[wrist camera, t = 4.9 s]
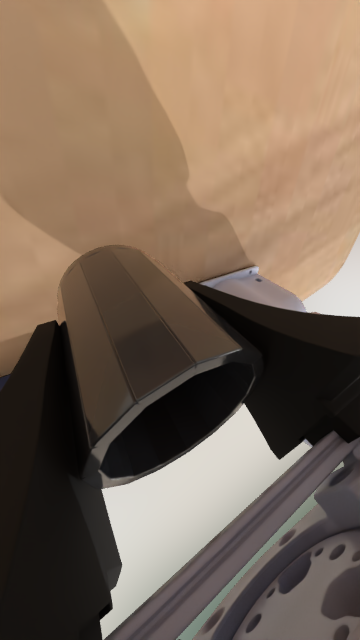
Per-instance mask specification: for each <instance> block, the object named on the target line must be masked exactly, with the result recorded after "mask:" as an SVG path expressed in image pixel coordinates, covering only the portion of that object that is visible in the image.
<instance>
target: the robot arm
mask: <svg viewBox="0 0 360 640" xmlns="http://www.w3.org/2000/svg"><path fill="white" fill-rule="evenodd" d="M258 270H259V268H258V267H257V266H253V267H249V268H246V269H243V270H240V271H237V272H233V273H230V274H227V275H224V276H220V277H217V278H214V279H211V280H208V281H204V282H201V283H196V282H193V281H189V282H185V283H184V284H185V285H186V286H187V287H188V288H189V289H190V290H191V291H193V292H194V293H195V294H196V295H197V296H198V297H199V298H200V299H202V300H203V301H204V302H205V303H206V304H207V305H208V306H209V307H211V308H212V309H213V310H214V311H215V312H216V313H217V314H218V315H220V316H221V317H222V318H223V319H224V320H225V321H226V322H227V323H228V324H230V325H231V326H232V327H233V328H234V329H235V330H236V331H237V332H239V333H240V334H241V335H242V336H243V337H244V338H245V339H246V340H248V341H249V342H250V343H251V344H252V345H253V346H254V347H255V348H257V349H258V350H259V351H260V352H261V353H262V355H263V362H264V372H263V374H262V376H261V378H260V380H259V382H258V384H257V386H256V388H255V390H254V391H253V393H252V394H251V395H250V396H249V398H248V399H247V400H246V401H245V402H244V404H245V405H246V407H247V408H248V410H249V412H250V413H251V415H252V416H253V418H254V420H255V421H256V424H257V425H258V427H259V429H260V431H261V432H262V434H263V436H264V438H265V439H266V441H267V443H268V445H269V447H270V449H271V450H272V451H273V453H274V454H275V455H276V457H277V458H278V459H279V460H280V459H281V458H282V457H284V456H285V455H286V454H288V453H289V452H290V451H291V450H293V449H294V448H295V447H297V446H298V445H299V444H300V443H302V442H305V443H306V444H307V445H309V446H311V447H312V448H311V449H310V450H308V451H307V452H306V453H305V454H304V455H303V456H302V457H301V458H300V459H299V460H298V461H297V462H296V463H294V465H292V466H291V467H290V468H289V469H288V470H287V471H286V472H285V473H284V474H283V475H281V476H280V477H279V478H278V479H277V480H276V481H275V482H274V483H273V484H272V485H271V486H270V487H268V488H267V489H266V490H265V491H264V492H263V493H262V494H261V495H260V496H259V497H258V498H257V499H255V500H254V501H253V502H252V503H251V504H250V505H249V506H248V507H247V508H246V509H245V510H244V511H243V512H241V513H240V514H239V515H238V516H237V517H236V518H235V519H234V520H233V521H232V522H231V523H230V524H229V525H227V526H226V527H225V528H224V529H223V530H222V531H221V532H220V533H219V534H218V535H217V536H215V537H214V538H213V539H212V540H211V541H210V542H209V543H208V544H207V545H206V546H205V547H204V548H203V549H201V550H200V551H199V552H198V553H197V554H196V555H195V556H194V557H193V558H192V559H191V560H190V561H189V562H188V563H186V564H185V565H184V566H183V567H182V568H181V569H180V570H179V571H178V572H177V573H175V574H174V575H173V576H172V577H171V578H170V579H169V580H168V581H167V582H166V583H165V584H164V585H163V586H162V587H161V588H159V589H158V590H157V591H156V592H155V593H154V594H153V595H152V596H151V597H150V598H149V599H147V600H146V601H145V602H144V603H143V604H142V605H141V606H140V607H139V608H138V609H137V610H135V611H134V613H132V614H131V615H130V616H129V617H128V618H127V619H126V620H125V621H124V622H122V623H121V625H119V626H118V627H117V628H116V629H115V630H114V631H113V632H112V633H111V634H110V635H108V636H107V637H106V638H105V639H104V640H176V638H177V637H178V636H179V635H180V634H181V633H182V632H183V631H184V630H185V629H186V628H187V627H188V626H189V625H190V624H191V623H192V621H193V620H194V619H195V618H196V617H197V616H198V615H199V614H200V613H201V612H202V610H204V609H205V607H206V606H207V605H208V604H209V603H210V602H211V601H212V600H213V599H214V598H215V597H216V595H218V593H219V592H220V591H221V590H222V589H223V588H224V587H225V586H226V585H227V584H228V583H229V582H230V581H231V580H232V579H233V577H234V576H235V575H236V574H237V573H238V572H239V571H240V570H241V569H242V568H243V567H244V566H245V565H246V564H247V563H248V561H249V560H250V559H251V558H252V557H253V556H254V555H255V554H256V553H257V552H258V551H259V549H260V548H261V547H263V545H264V544H265V543H266V542H267V541H268V540H269V539H270V538H271V537H272V536H273V535H274V534H275V533H276V532H277V530H278V529H279V528H280V527H281V526H282V525H283V524H284V523H285V522H286V521H287V520H288V518H289V517H291V515H292V514H293V513H294V512H295V511H296V510H297V509H298V508H299V507H300V506H301V505H302V504H303V503H304V502H305V500H306V499H307V498H308V497H309V496H310V495H311V494H312V493H313V492H314V491H315V490H316V489H317V490H316V492H315V494H314V499H315V500H316V501H317V503H318V504H317V505H316V506H315V507H314V508H313V509H312V510H311V511H310V512H309V513H307V514H306V515H305V516H304V517H303V518H302V519H301V520H300V521H299V522H298V523H297V524H295V525H294V526H293V527H292V528H291V529H290V530H289V531H288V532H287V533H286V534H285V535H284V536H283V537H282V538H280V539H279V540H278V541H277V542H276V543H275V544H274V545H273V546H272V547H271V548H270V549H269V550H268V551H267V552H266V553H265V554H264V555H263V556H262V557H261V558H260V559H259V560H258V561H257V562H256V563H255V564H254V565H253V566H252V567H251V568H250V569H249V570H248V571H247V572H246V573H245V575H244V576H243V577H242V578H241V579H240V580H239V581H238V583H237V584H236V585H235V586H234V587H233V588H232V590H231V591H230V592H229V593H228V595H227V596H226V597H225V598H224V599H223V601H222V602H221V603H220V604H219V606H218V607H217V608H216V610H215V611H214V612H213V613H212V615H211V616H210V617H209V619H208V620H207V621H206V622H205V624H204V625H203V626H202V627H201V629H200V630H199V631H198V633H197V634H196V635H195V637H194V638H193V639H192V640H360V317H348V316H347V317H346V316H334V315H324V314H320V313H317V312H312V313H307V312H306V309H305V307H304V305H303V303H302V301H301V300H300V299H299V298H298V297H297V296H296V295H295V294H293V293H291V292H290V291H288V290H286V289H284V288H282V287H281V286H279V285H277V284H275V283H273V282H271V281H270V280H268V279H266V278H264V277H262V276H261V275H259V274H257V273H258ZM342 461H343V463H344V467H342V468H340V469H338V470H336V471H335V472H333V470H334V469H335V468H336V467H337V466H338V465H339V464H340V463H341V462H342ZM331 472H333V473H331ZM121 568H122V562H121V559H120V556H119V552H118V549H117V545H116V542H115V538H114V535H113V531H112V527H111V524H110V520H109V517H108V513H107V509H106V505H105V501H104V498H103V494H102V490H101V489H95V488H93V487H91V486H90V485H88V484H86V483H85V482H83V481H81V480H80V478H79V472H78V464H77V457H76V449H75V442H74V434H73V427H72V419H71V412H70V404H69V397H68V389H67V382H66V374H65V366H64V359H63V351H62V344H61V336H60V329H59V325H58V323H57V321H56V320H54V321H51V322H47V323H44V324H40V325H38V326H37V327H36V329H35V331H34V333H33V335H32V337H31V338H30V340H29V342H28V344H27V346H26V348H25V350H24V352H23V354H22V356H21V357H20V359H19V361H18V363H17V364H16V366H15V368H14V370H13V372H12V373H11V375H10V377H9V378H8V380H7V381H6V383H5V385H4V386H3V388H2V389H1V391H0V640H102V633H101V626H100V620H101V619H102V618H103V617H104V616H105V615H106V614H107V613H109V612H110V611H111V610H112V609H113V607H112V599H111V593H110V591H111V590H112V589H113V588H114V587H115V586H116V584H117V581H118V578H119V575H120V572H121ZM178 640H180V639H178Z"/></svg>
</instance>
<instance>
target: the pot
mask: <svg viewBox="0 0 360 640" xmlns="http://www.w3.org/2000/svg"><path fill="white" fill-rule="evenodd" d="M57 301H58V305H57V314H58V321H59V329H60V336H61V344H62V351H63V359H64V366H65V374H66V382H67V389H68V397H69V404H70V412H71V419H72V427H73V434H74V442H75V449H76V457H77V464H78V472H79V478H80V480H81V481H83V482H85V483H86V484H88V485H90V486H91V487H93V488H95V489H103V488H109V487H114V486H120V485H125V484H128V483H131V482H133V481H135V480H138V479H140V478H142V477H144V476H147V475H149V474H151V473H154V472H156V471H157V470H160V469H161V468H163V467H165V466H166V465H168V464H169V463H171V462H173V461H175V460H176V459H178V458H180V457H181V456H183V455H184V454H186V453H187V452H189V451H191V450H192V449H193V448H194V447H196V446H197V445H199V444H200V443H201V442H202V441H204V440H205V439H206V438H208V437H209V436H211V435H212V434H213V433H214V432H215V431H217V430H218V429H219V428H220V427H221V426H222V425H223V424H224V423H225V422H226V421H227V420H228V419H229V418H231V417H232V416H233V415H234V414H235V413H236V412H237V411H238V410H239V408H240V407H241V406H242V405H243V403H244V402H245V401H246V400H247V399H248V398H249V396H250V395H251V394H252V393H253V391H254V390H255V388H256V386H257V384H258V382H259V380H260V378H261V376H262V374H263V372H264V362H263V355H262V353H261V352H260V351H259V350H258V349H257V348H255V347H254V346H253V345H252V344H251V343H250V342H249V341H248V340H246V339H245V338H244V337H243V336H242V335H241V334H240V333H239V332H237V331H236V330H235V329H234V328H233V327H232V326H231V325H230V324H228V323H227V322H226V321H225V320H224V319H223V318H222V317H221V316H220V315H218V314H217V313H216V312H215V311H214V310H213V309H212V308H211V307H209V306H208V305H207V304H206V303H205V302H204V301H203V300H202V299H200V298H199V297H198V296H197V295H196V294H195V293H194V292H193V291H191V290H190V289H189V288H188V287H187V286H186V285H185V284H184V283H183V282H181V281H180V280H179V279H178V278H177V277H176V276H175V275H174V274H172V273H171V272H170V271H169V270H168V269H167V268H166V267H165V266H163V265H162V264H161V263H160V262H159V261H157V260H156V259H154V258H153V257H151V256H150V255H149V254H147V253H146V252H144V251H142V250H140V249H137V248H134V247H131V246H125V245H110V246H104V247H100V248H96V249H94V250H91V251H89V252H87V253H85V254H84V255H82V256H81V257H79V258H78V259H77V260H75V261H74V262H73V263H72V264H71V265H70V266H69V267H68V269H67V270H66V272H65V273H64V275H63V277H62V279H61V281H60V284H59V287H58V293H57Z"/></svg>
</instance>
